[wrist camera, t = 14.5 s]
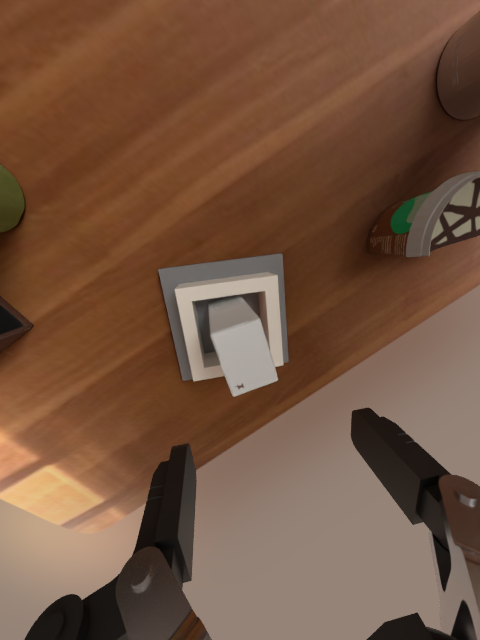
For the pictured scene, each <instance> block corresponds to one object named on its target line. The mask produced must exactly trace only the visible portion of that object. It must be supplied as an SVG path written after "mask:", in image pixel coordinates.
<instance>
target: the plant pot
mask: <svg viewBox="0 0 480 640" xmlns="http://www.w3.org/2000/svg"><path fill="white" fill-rule="evenodd" d="M24 208H25V202H24V196H23V193H22V190H21V188H20V186H19V184H18V182H17V181H16V179H15V178H14V177H13V175H12V174H11V173H10V172H9V171H8V170H7V169H6V168H4V167H3V166H2V165H1V164H0V232H5V231H7V230H10V229H12V228H13V227H15V226H16V225H17V224H18V222H19V220H20V217H21V215H22V213H23V211H24Z"/></svg>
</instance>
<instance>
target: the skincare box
mask: <svg viewBox="0 0 480 640" xmlns="http://www.w3.org/2000/svg"><path fill="white" fill-rule="evenodd" d="M208 309H209V325H210V337H211V339H212V342H213V345H214V348H215V350H216V353H217V356H218V358H219V361H220V365H221V368H222V371H223V373H224V375H225V378H226V381H227V383H228V386H229V389H230V391H231V394H232V396H233V397H235V396H238V395H240V394H243V393H246V392H248V391H251V390H254V389H257V388H260V387H262V386H265V385H268V384H270V383H273V382H276V381H278V377H277V373H276V369H275V365H274V362H273V359H272V356H271V353H270V350H269V346H268V343H267V340H266V336H265V333H264V330H263V327H262V323H261V320H260V318H259V317H258V315H257V314H256V313H255V312H254V311H253V310H252V309H251V307H250V306H249V305H248V304H247V303H246V301H245V300H244V299H243V298H242V297H241V296H240V295H232V296H229V297H226V298H223V299H220V300H217V301H214V302H211V303H208Z"/></svg>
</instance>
